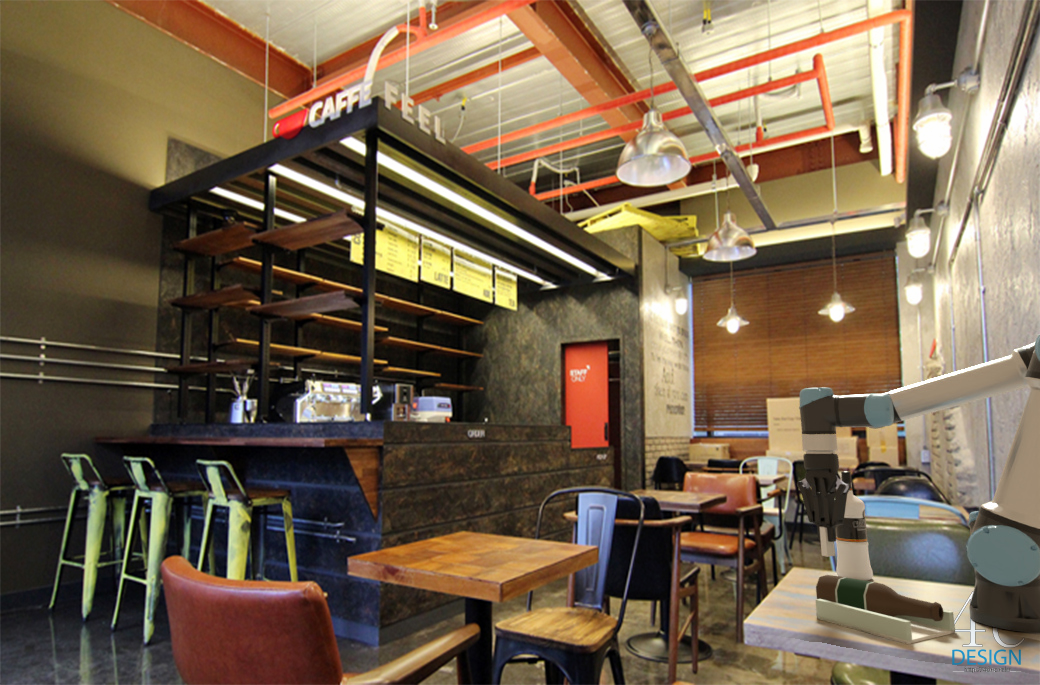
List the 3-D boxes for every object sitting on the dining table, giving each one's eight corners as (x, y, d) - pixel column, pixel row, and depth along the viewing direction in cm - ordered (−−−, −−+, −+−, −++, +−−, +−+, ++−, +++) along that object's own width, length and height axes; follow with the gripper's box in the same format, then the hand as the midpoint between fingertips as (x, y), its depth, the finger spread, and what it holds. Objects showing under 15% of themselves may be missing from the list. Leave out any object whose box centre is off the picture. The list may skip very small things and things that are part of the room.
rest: (955, 632, 127) (953, 611, 128) (907, 644, 120) (905, 622, 121) (863, 609, 145) (861, 591, 146) (816, 618, 138) (815, 599, 138)
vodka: (843, 573, 185) (835, 470, 190) (877, 578, 179) (868, 471, 183) (831, 578, 179) (823, 471, 184) (866, 583, 172) (857, 472, 177)
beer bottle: (820, 615, 143) (940, 641, 125) (811, 584, 143) (930, 605, 124) (834, 597, 148) (951, 619, 130) (826, 567, 147) (942, 584, 129)
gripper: (855, 452, 145) (865, 558, 141) (807, 452, 156) (814, 550, 152) (834, 453, 141) (843, 561, 138) (786, 452, 153) (793, 552, 149)
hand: (828, 555), depth 145 cm, fingers closed
